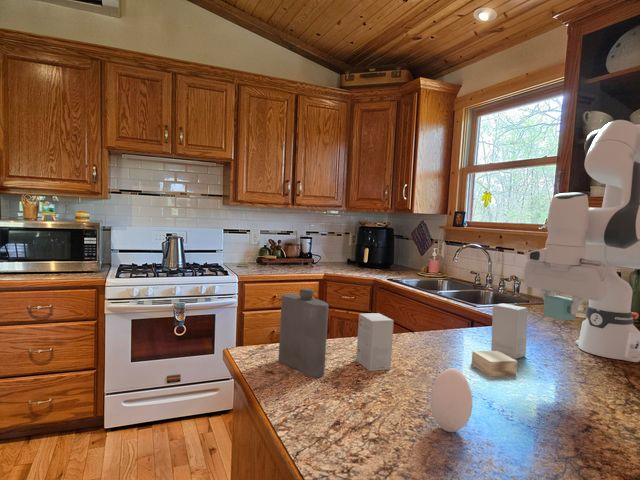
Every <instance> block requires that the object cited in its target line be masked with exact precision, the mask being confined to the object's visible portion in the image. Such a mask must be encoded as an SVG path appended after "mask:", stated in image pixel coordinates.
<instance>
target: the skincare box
mask: <svg viewBox="0 0 640 480" xmlns="http://www.w3.org/2000/svg"><path fill="white" fill-rule="evenodd" d="M491 321H492V323H491V324H492V325H491V343H490V344H491V346H490V347H491V349H490V351H499V352H501V353H503V354H505V355H507V356H509V357H511V358H513V359H515V360H517V359H519V358H524V357H526V354H527V352H526V351H527V332H528V331H527V328H528V307H526V306H519V305H514V304H513V305H512V304H509V303H497V304H493V305H492V318H491Z"/></svg>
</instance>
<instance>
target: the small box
mask: <svg viewBox="0 0 640 480" xmlns="http://www.w3.org/2000/svg"><path fill="white" fill-rule="evenodd" d="M394 322H395V321H394V319H392V318H389V317H388V316H385V315H384V314H381V313H379V312H377V313H373V312H371V313H369V312H368V313H359V314H358V328H357V329H358V330H357V342H356V343H357V344H356V356H355V360H356V362H358V363H359V364H360V365H361V366H363V367H364V368H365V369H366V370H367V371H369V372H375V371H386V370H391V369H392V368H391V367H392V366H391V365H392V354H393V353H392V351H393V350H392V349H393V339H394V338H393V335H394V334H393V333H394V324H395V323H394Z"/></svg>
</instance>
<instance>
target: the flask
mask: <svg viewBox="0 0 640 480" xmlns="http://www.w3.org/2000/svg"><path fill="white" fill-rule="evenodd" d="M314 293H315V290H313V289H312V288H309V287H308V288H307V287H306V288H301V289H300V290H299V294H295V293H286V294H283V295H282V296H281V305H280V306H281V307H280V308H281V309H280V323H279V345H278V347H279V348H278V358H277V359H278V363H279V364H281V365H284V366H287V367H289V368H292V369H295V370H297V371H298V372H300V373H301V374H303V375H305V376H306V377H308V378H311V379H319V378H323V376H324V375H325V371H326V370H325V367H326V352H327V351H326V350H327V337H328V321H329V317H328V316H329V304H328V303H327V302H325V301H324V300H320V299H318V298H314V295H315V294H314Z"/></svg>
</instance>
